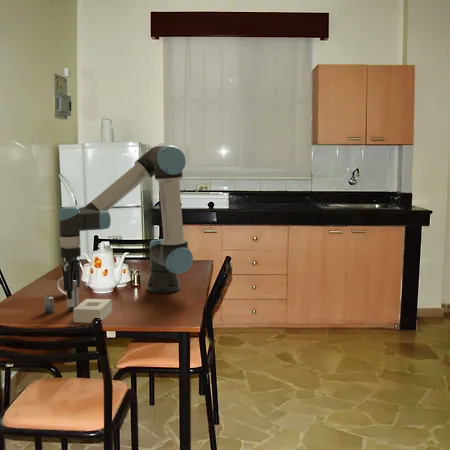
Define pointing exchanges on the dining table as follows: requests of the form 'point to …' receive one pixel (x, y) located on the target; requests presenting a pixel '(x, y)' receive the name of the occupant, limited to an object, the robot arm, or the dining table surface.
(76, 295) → the long pin
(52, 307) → the short pin
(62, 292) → the cup
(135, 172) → the robot arm
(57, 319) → the dining table surface
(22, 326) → the dining table surface
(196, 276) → the dining table surface
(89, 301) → the hole block
